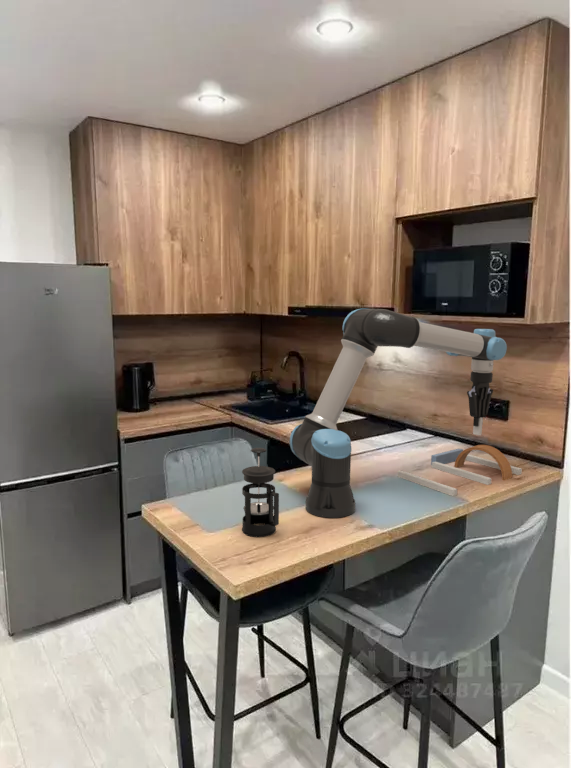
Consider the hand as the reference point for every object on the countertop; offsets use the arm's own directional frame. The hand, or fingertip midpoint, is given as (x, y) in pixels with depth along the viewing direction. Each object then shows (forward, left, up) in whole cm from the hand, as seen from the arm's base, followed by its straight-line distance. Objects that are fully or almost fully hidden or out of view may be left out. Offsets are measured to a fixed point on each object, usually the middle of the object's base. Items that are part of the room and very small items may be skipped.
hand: (477, 434), depth 196 cm
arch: (+1, -3, -14) cm, 15 cm away
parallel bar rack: (-9, 0, -14) cm, 17 cm away
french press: (-95, +2, -14) cm, 96 cm away
